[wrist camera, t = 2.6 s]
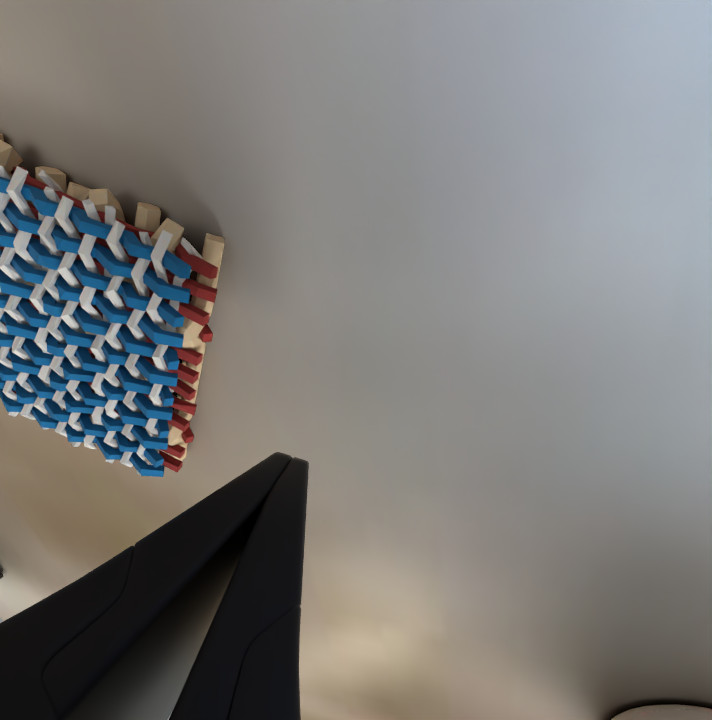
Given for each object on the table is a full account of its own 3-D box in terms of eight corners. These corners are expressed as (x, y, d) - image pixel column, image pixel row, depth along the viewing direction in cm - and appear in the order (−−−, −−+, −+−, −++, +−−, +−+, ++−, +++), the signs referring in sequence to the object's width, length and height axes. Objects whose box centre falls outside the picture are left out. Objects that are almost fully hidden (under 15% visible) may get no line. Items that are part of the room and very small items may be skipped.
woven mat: (197, 463, 15) (165, 499, 14) (-10, 364, 15) (-68, 386, 14) (245, 243, 10) (205, 253, 9) (-61, 100, 10) (-164, 79, 9)
